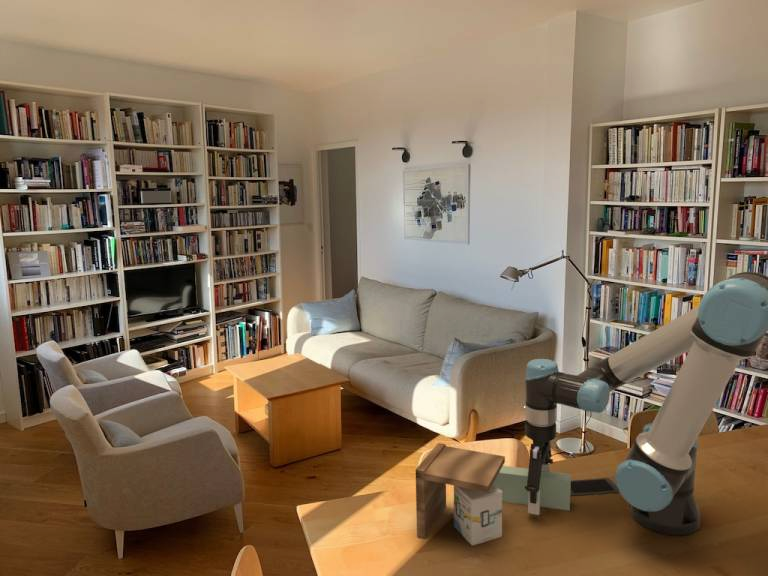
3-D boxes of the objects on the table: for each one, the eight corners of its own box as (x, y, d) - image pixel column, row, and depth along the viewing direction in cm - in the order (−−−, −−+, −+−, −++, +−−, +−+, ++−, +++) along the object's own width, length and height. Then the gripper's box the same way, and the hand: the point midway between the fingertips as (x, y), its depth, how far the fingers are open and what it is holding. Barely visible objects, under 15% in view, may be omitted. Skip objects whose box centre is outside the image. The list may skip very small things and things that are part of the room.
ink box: (453, 526, 140) (452, 482, 138) (483, 518, 144) (483, 474, 142) (471, 546, 133) (471, 499, 131) (503, 536, 136) (503, 490, 134)
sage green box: (569, 502, 150) (570, 473, 148) (569, 532, 137) (570, 501, 136) (465, 488, 158) (465, 461, 156) (455, 515, 145) (455, 486, 144)
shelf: (504, 519, 143) (504, 454, 140) (487, 554, 130) (488, 483, 127) (438, 504, 150) (438, 442, 147) (416, 536, 137) (415, 469, 134)
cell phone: (621, 494, 153) (621, 491, 153) (570, 497, 152) (570, 495, 152) (608, 480, 161) (609, 477, 160) (559, 483, 160) (559, 481, 159)
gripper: (535, 401, 158) (533, 474, 162) (514, 438, 136) (513, 522, 139) (563, 405, 155) (561, 479, 158) (547, 444, 132) (545, 529, 136)
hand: (539, 499), depth 149 cm, fingers open, 13 cm apart
